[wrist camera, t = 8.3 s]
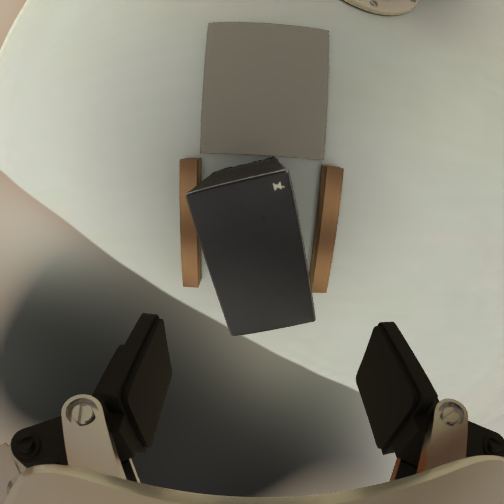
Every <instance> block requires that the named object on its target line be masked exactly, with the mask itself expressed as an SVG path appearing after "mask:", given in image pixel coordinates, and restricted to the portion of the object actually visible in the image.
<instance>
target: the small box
mask: <svg viewBox="0 0 504 504" xmlns="http://www.w3.org/2000/svg"><path fill="white" fill-rule="evenodd" d="M186 199H187V203H188V206H189V209H190V213H191V216H192V219H193V222H194V226H195V229H196V232H197V235H198V238H199V241H200V245H201V248H202V251H203V254H204V257H205V260H206V263H207V266H208V269H209V272H210V275H211V278H212V281H213V284H214V287H215V290H216V293H217V296H218V299H219V302H220V305H221V308H222V311H223V314H224V317H225V320H226V323H227V326H228V329H229V331H230V334H231V335H232V336H238V335H246V334H251V333H257V332H263V331H269V330H274V329H279V328H285V327H290V326H295V325H299V324H304V323H309V322H314V321H315V311H314V304H313V297H312V291H311V285H310V278H309V272H308V266H307V260H306V254H305V248H304V243H303V238H302V233H301V227H300V222H299V217H298V211H297V206H296V201H295V197H294V192H293V187H292V182H291V178H290V173H289V171H288V170H287V169H286V168H285V167H284V166H283V165H282V164H280V163H279V161H278V160H277V159H276V158H274V157H272V158H268V159H265V160H263V161H261V160H259V161H258V162H257V161H255V162H253V163H248V164H244V165H239V166H236V167H229V168H226V169H223V170H220V171H217V172H214V173H212V174H211V175H210V176H209V177H207V178H206V179H205V180H203V181H202V182H201V183H199V184H198V185H197V186H195V187H194V188H193V189H192V190H190V191H189V192H187V193H186Z"/></svg>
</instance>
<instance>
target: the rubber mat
mask: <svg viewBox="0 0 504 504" xmlns="http://www.w3.org/2000/svg"><path fill="white" fill-rule="evenodd" d="M328 74H329V31H327V30H321V29H315V28H308V27H301V26H292V25H282V24H270V23H249V22H218V23H208V33H207V44H206V55H205V68H204V82H203V98H202V117H201V142H200V153H220V154H251V155H269V156H284V157H296V158H307V159H317V160H324V152H325V138H326V122H327V103H328Z"/></svg>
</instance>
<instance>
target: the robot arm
mask: <svg viewBox="0 0 504 504" xmlns="http://www.w3.org/2000/svg"><path fill="white" fill-rule="evenodd" d="M344 1H346V2H348V3H349V4H351V5H353V6H356V7H358V8H360V9H363V10H366V11H369V12H372V13H376V14H381V15H400V14H404V13H406V12H409V11H410V10H411V9H413V8H414V7H415V6H416V5H417V4H418V3H419V0H344ZM171 376H172V368H171V363H170V358H169V352H168V347H167V340H166V334H165V327H164V321H163V319H159V316H158V315H156V314H147V313H143V314H142V315H141V316H140V318H139V320H138V322H137V323H136V325H135V327H134V329H133V330H132V332H131V334H130V336H129V338H128V339H127V341H126V343H125V345H120V346H119V347H118V348H117V350H116V352H115V353H114V355H113V357H112V359H111V361H110V363H109V364H108V366H107V368H106V370H105V372H104V374H103V376H102V377H101V379H100V381H99V383H98V385H97V387H96V389H95V391H94V393H93V395H92V396H90V395H77V396H74V397H72V398H70V399H69V400H67V401H66V403H65V404H64V406H63V408H62V414H61V416H59V417H56V418H54V419H51V420H48V421H45V422H43V423H39V424H37V425H33V426H31V427H27V428H24V429H22V430H20V431H18V432H17V433H16V434H15V435H14V436H13V438H12V441H11V444H10V445H8V444H7V443H4V444H2V445H0V504H504V439H503V437H502V436H500V434H498V433H496V432H494V431H491V430H489V429H486V428H484V427H482V426H479V425H477V424H475V423H472V422H470V421H468V413H467V410H466V408H465V407H464V406H463V405H462V404H461V403H460V402H458V401H457V400H454V399H443V400H441V401H440V402H439V400H438V398H437V397H438V395H437V393H436V391H435V390H434V388H433V386H432V384H431V382H430V381H429V379H428V377H427V375H426V374H425V372H424V370H423V368H422V367H421V365H420V363H419V362H418V360H417V358H416V356H415V355H414V353H413V351H412V350H411V348H410V347H409V345H408V343H407V342H406V340H405V338H404V337H403V335H402V334H401V332H400V330H399V329H398V327H397V326H396V324H395V323H394V322H380V323H379V324H378V326H375V327H374V329H373V332H372V335H371V337H370V340H369V343H368V346H367V349H366V352H365V354H364V357H363V360H362V362H361V365H360V367H359V370H358V372H357V375H356V383H357V386H358V389H359V392H360V395H361V397H362V400H363V404H364V406H365V410H366V413H367V416H368V419H369V422H370V425H371V429H372V432H373V435H374V438H375V442H376V445H377V447H378V448H380V449H381V450H382V453H383V455H385V454H389V453H394V452H395V454H396V457H397V459H396V462H395V466H394V469H393V472H392V475H391V478H390V481H389V482H386V483H382V484H377V485H373V486H368V487H363V488H358V489H353V490H347V491H340V492H334V493H326V494H319V495H307V496H294V497H271V498H270V497H260V498H259V497H231V496H217V495H207V494H198V493H191V492H183V491H178V490H171V489H166V488H160V487H156V486H151V485H146V484H142V483H140V481H139V479H138V476H137V473H136V471H135V468H134V465H133V463H132V460H131V458H132V457H134V456H135V453H136V452H140V453H145V451H146V447H151V445H152V442H153V439H154V435H155V432H156V428H157V424H158V421H159V417H160V414H161V410H162V407H163V404H164V400H165V397H166V394H167V390H168V387H169V384H170V380H171Z"/></svg>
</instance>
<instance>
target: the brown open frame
mask: <svg viewBox="0 0 504 504" xmlns="http://www.w3.org/2000/svg"><path fill="white" fill-rule="evenodd" d="M343 171H344V169H343V168H339V167H334V166H325V165H322V170H321V181H320V192H319V202H318V211H317V220H316V229H315V237H314V245H313V252H312V260H311V267H310V274H309V278H310V285H311V291H312V293H326V291H327V286H328V280H329V275H330V269H331V263H332V257H333V251H334V244H335V237H336V230H337V223H338V216H339V208H340V199H341V191H342V181H343ZM199 183H201V158H185V159H181V160H180V233H181V258H182V276H183V286H184V287H199V284H200V281H201V278H202V277H201V245H200V241H199V238H198V235H197V232H196V229H195V226H194V222H193V219H192V216H191V213H190V209H189V206H188V203H187V199H186V193H187V192H189V191H190V190H192V189H193V188H194V187H195V186H197V185H198V184H199Z"/></svg>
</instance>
